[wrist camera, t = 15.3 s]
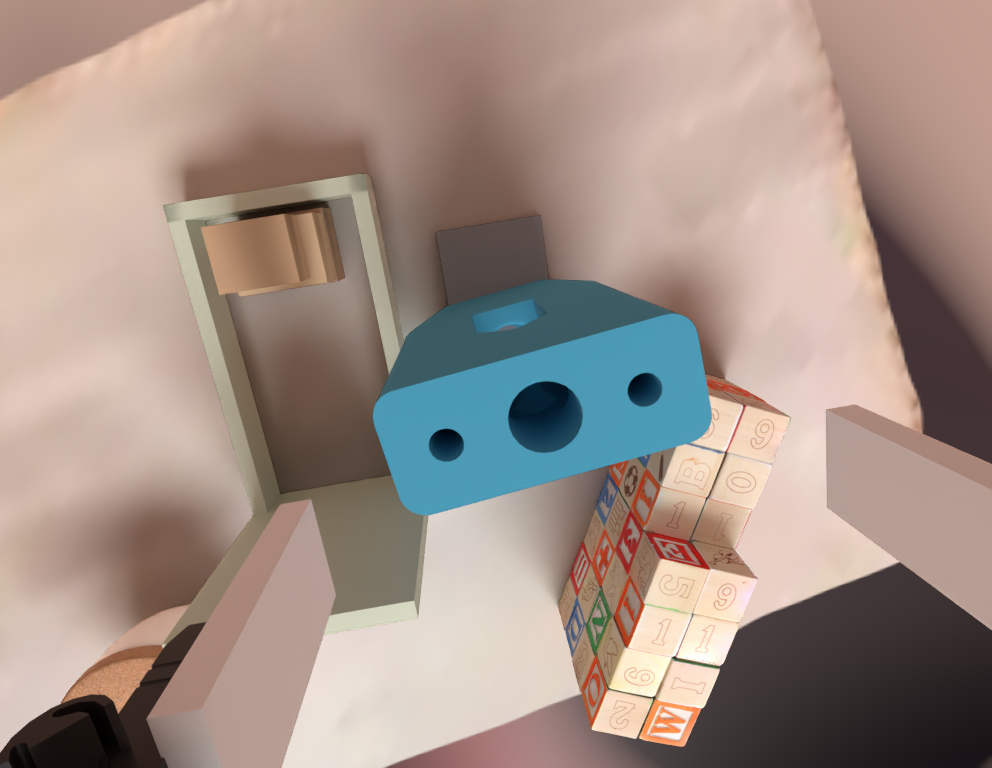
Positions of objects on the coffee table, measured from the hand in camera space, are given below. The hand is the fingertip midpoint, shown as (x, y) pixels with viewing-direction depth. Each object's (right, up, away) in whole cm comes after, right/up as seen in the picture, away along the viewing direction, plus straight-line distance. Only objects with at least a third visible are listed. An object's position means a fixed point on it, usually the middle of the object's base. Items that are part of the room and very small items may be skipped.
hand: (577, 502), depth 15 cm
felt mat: (-2, +7, +26) cm, 27 cm away
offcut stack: (-15, +12, +24) cm, 31 cm away
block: (-2, +7, +26) cm, 27 cm away
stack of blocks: (+9, -6, +31) cm, 32 cm away
